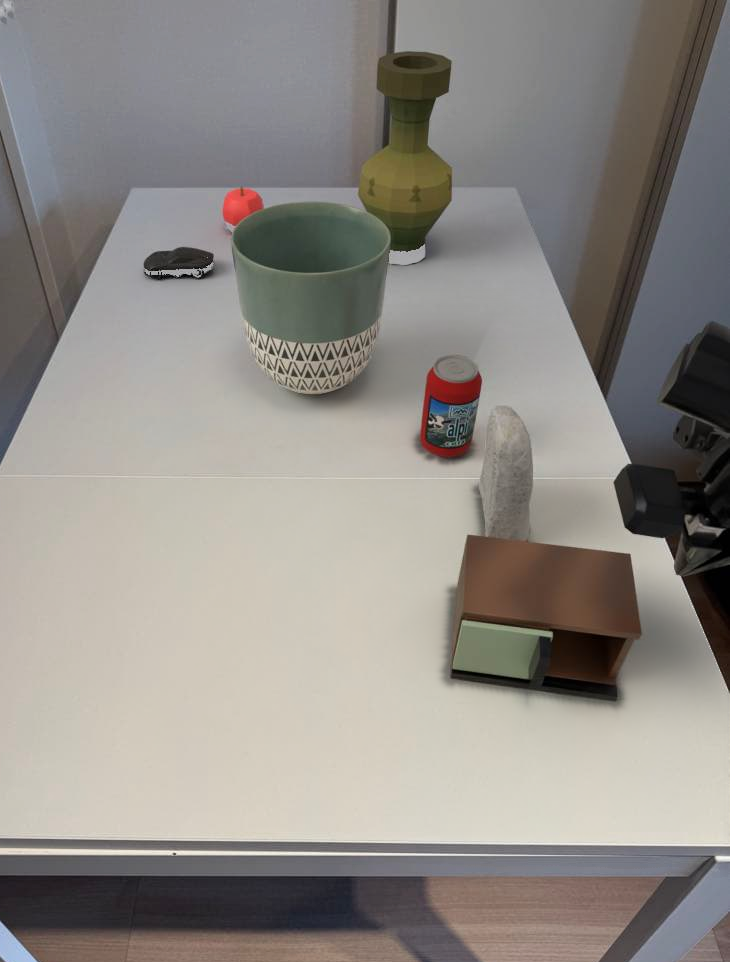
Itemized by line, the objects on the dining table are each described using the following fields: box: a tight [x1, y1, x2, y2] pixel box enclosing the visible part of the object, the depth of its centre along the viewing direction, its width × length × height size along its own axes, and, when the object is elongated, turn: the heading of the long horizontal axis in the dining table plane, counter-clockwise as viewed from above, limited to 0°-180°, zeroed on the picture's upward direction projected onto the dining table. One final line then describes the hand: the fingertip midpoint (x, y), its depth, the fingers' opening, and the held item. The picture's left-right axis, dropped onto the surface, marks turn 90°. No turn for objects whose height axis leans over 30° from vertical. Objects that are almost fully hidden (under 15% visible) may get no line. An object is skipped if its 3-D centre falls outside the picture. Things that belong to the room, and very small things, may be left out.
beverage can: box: [419, 354, 483, 458], centre depth 97 cm, size 7×7×12 cm
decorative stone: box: [478, 404, 534, 542], centre depth 86 cm, size 11×6×15 cm, turn 0°
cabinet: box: [450, 534, 643, 702], centre depth 76 cm, size 16×11×9 cm
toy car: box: [143, 246, 215, 280], centre depth 131 cm, size 6×12×4 cm, turn 93°
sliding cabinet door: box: [453, 620, 553, 691], centre depth 72 cm, size 8×3×7 cm, turn 81°
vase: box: [357, 50, 453, 252], centre depth 127 cm, size 16×16×30 cm
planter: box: [230, 200, 391, 395], centre depth 103 cm, size 20×20×21 cm
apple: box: [222, 186, 265, 226], centre depth 141 cm, size 8×8×8 cm
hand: (678, 571), depth 70 cm, fingers closed
